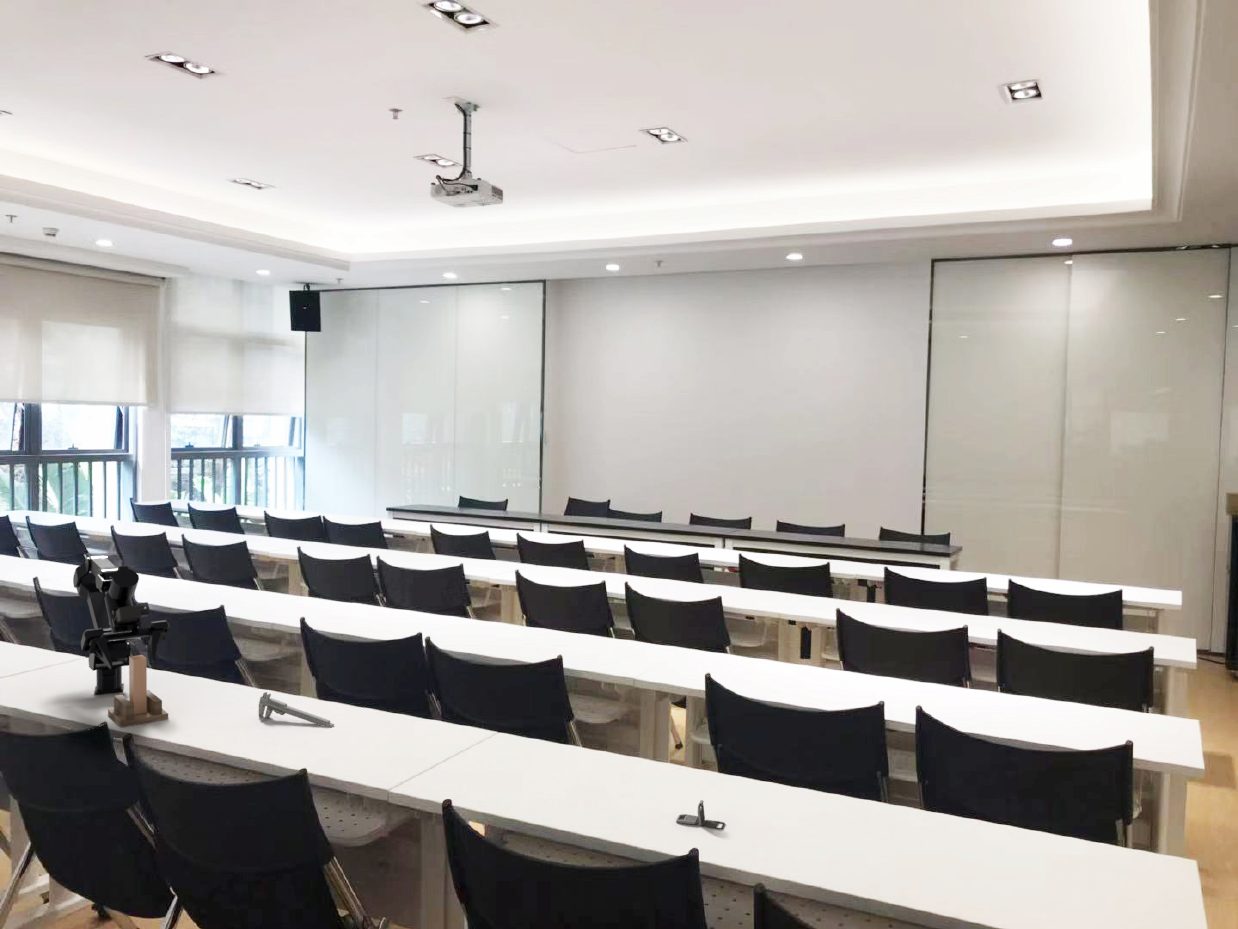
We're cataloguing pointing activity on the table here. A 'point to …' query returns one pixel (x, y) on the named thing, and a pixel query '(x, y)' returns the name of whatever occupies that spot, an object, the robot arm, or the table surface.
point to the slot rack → (126, 716)
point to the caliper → (287, 710)
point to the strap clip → (699, 819)
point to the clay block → (138, 683)
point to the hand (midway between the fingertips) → (132, 665)
